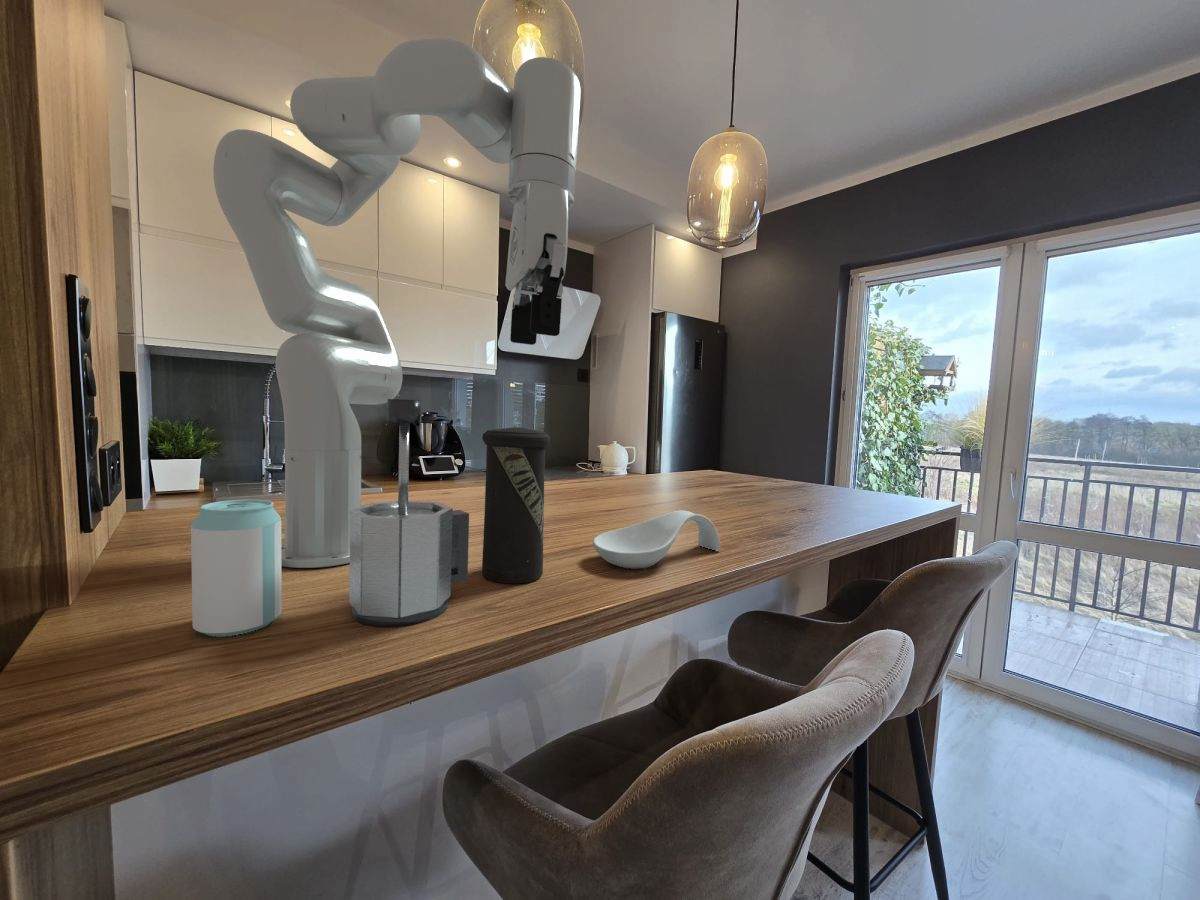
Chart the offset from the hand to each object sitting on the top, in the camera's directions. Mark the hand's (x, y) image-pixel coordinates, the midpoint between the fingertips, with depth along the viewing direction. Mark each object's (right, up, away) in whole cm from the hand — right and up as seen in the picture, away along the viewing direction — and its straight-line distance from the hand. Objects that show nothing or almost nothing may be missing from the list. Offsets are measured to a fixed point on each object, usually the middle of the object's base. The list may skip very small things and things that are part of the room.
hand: (533, 339), depth 58 cm
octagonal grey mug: (-13, -30, -3) cm, 33 cm away
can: (-28, -30, -9) cm, 42 cm away
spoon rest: (+17, -31, +21) cm, 41 cm away
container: (-4, -30, +10) cm, 32 cm away
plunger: (-14, -21, -4) cm, 25 cm away
